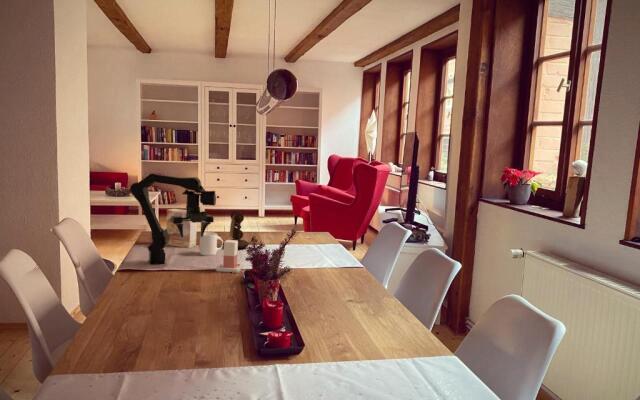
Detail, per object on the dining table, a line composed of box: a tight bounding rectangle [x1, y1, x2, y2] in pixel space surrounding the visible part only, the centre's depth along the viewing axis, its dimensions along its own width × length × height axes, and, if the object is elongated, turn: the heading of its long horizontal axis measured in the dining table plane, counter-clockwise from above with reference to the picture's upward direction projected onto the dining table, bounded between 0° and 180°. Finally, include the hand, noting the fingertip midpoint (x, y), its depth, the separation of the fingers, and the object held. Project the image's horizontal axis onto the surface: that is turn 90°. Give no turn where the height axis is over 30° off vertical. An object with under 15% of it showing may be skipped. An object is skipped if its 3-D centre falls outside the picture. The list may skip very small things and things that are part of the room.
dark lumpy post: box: [222, 210, 250, 249], centre depth 271 cm, size 15×15×20 cm
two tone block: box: [222, 239, 238, 268], centre depth 224 cm, size 5×5×12 cm
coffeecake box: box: [165, 208, 198, 249], centre depth 267 cm, size 15×7×20 cm, turn 73°
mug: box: [199, 231, 224, 257], centre depth 252 cm, size 9×12×11 cm
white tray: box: [215, 262, 244, 274], centre depth 225 cm, size 10×10×2 cm
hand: (191, 237), depth 228 cm, fingers open, 9 cm apart
